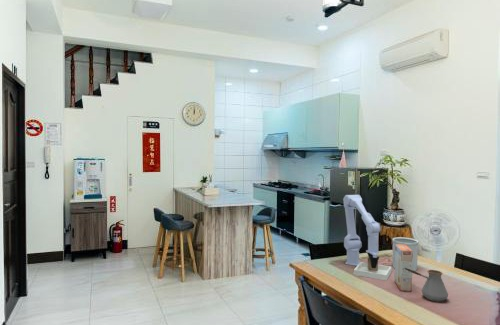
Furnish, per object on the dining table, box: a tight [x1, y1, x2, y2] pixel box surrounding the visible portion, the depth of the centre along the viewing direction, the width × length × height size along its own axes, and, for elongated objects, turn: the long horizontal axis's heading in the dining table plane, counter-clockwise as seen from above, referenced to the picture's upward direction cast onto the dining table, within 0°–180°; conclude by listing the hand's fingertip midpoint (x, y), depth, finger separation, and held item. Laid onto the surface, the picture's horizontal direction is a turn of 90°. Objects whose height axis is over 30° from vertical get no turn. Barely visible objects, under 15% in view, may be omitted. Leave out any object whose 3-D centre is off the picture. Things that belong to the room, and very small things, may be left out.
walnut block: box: [367, 257, 379, 271], centre depth 206 cm, size 5×5×6 cm
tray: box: [353, 261, 393, 281], centre depth 206 cm, size 18×18×3 cm
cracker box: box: [394, 244, 413, 292], centre depth 185 cm, size 14×6×21 cm, turn 168°
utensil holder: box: [391, 236, 420, 272], centre depth 217 cm, size 15×15×18 cm
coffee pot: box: [403, 268, 449, 302], centre depth 169 cm, size 21×12×15 cm, turn 93°
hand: (372, 266), depth 206 cm, fingers closed on walnut block, 5 cm apart
